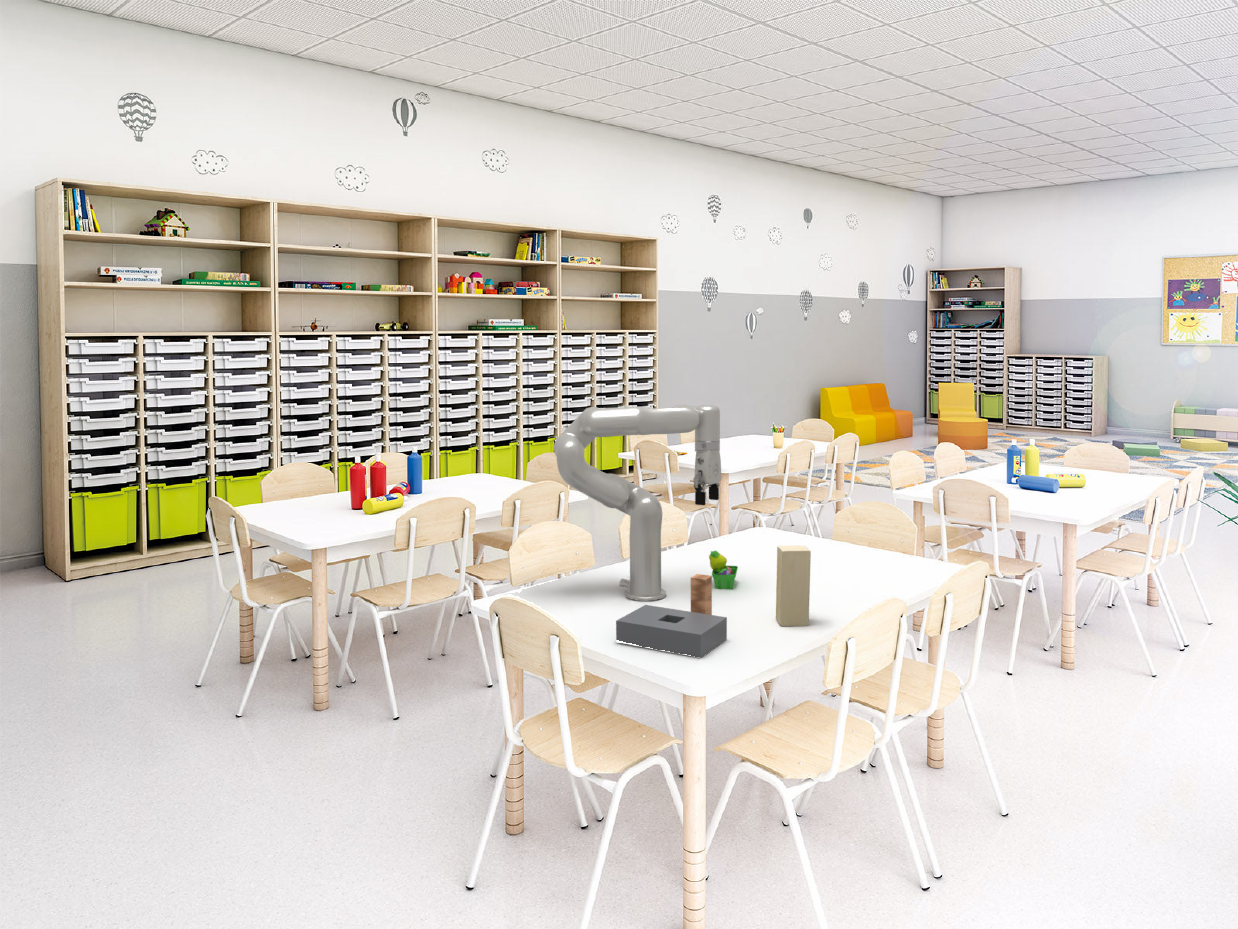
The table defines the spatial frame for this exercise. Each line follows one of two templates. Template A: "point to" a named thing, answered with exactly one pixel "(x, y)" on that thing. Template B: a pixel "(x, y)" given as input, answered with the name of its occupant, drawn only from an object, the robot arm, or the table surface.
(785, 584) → the tall beige block
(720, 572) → the fruit basket
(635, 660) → the table surface
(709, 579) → the wooden block
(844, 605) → the table surface
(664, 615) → the grey block with hole
